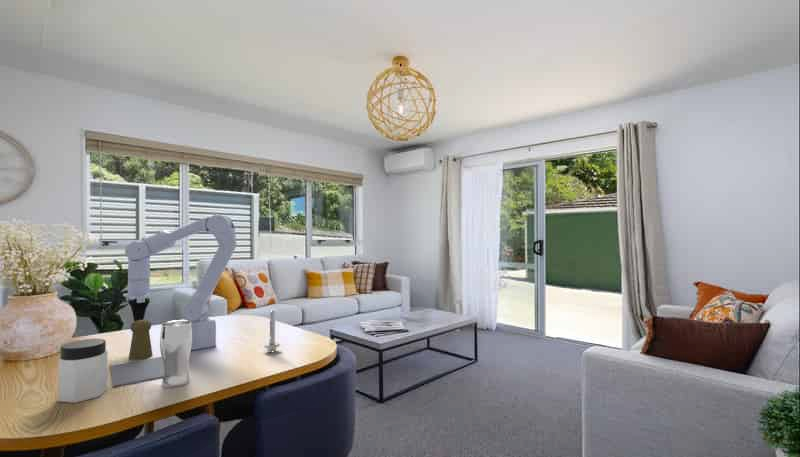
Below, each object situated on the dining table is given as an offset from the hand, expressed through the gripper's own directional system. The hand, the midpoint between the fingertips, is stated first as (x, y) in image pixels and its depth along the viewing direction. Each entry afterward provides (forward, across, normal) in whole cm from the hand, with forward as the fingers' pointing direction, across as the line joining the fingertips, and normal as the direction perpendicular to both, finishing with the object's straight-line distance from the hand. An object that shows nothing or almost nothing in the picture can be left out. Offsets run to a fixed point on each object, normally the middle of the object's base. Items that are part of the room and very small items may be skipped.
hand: (138, 322), depth 122 cm
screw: (+9, +27, +33) cm, 44 cm away
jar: (+9, +32, -13) cm, 36 cm away
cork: (+9, +8, 0) cm, 12 cm away
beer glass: (+9, +37, +5) cm, 38 cm away
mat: (+9, +22, 0) cm, 24 cm away
